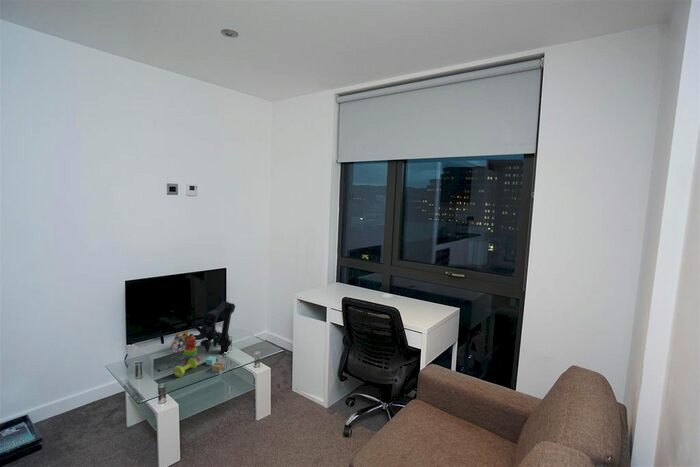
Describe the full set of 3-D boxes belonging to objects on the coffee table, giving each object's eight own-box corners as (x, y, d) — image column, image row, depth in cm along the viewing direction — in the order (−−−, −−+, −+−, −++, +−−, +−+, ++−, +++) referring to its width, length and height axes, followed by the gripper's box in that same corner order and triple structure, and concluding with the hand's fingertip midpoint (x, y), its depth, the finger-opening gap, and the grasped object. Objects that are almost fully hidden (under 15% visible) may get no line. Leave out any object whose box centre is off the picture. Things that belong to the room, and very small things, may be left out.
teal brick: (209, 361, 265) (209, 356, 265) (215, 362, 264) (215, 357, 264) (205, 365, 260) (205, 359, 260) (212, 366, 259) (212, 360, 259)
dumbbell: (190, 365, 258) (190, 356, 257) (199, 367, 256) (199, 358, 255) (172, 376, 243) (172, 366, 242) (181, 379, 240) (181, 369, 239)
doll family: (172, 355, 270) (172, 339, 269) (164, 351, 275) (164, 335, 273) (196, 345, 289) (196, 330, 287) (188, 342, 293) (189, 327, 292)
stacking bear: (192, 365, 258) (192, 342, 255) (179, 363, 260) (179, 340, 257) (201, 358, 268) (201, 336, 266) (189, 356, 270) (189, 334, 268)
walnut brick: (216, 367, 257) (216, 361, 256) (224, 368, 256) (224, 362, 255) (211, 371, 251) (212, 365, 251) (219, 372, 250) (219, 366, 250)
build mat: (215, 366, 259) (215, 365, 259) (228, 368, 258) (228, 367, 258) (207, 373, 250) (207, 372, 250) (220, 375, 248) (220, 374, 248)
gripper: (208, 323, 269) (208, 342, 271) (193, 333, 251) (193, 353, 253) (222, 325, 267) (221, 344, 269) (207, 335, 249) (207, 356, 251)
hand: (211, 349), depth 261 cm, fingers open, 9 cm apart
